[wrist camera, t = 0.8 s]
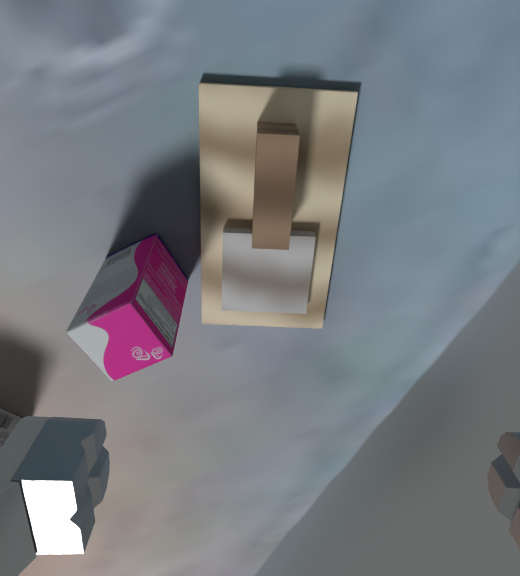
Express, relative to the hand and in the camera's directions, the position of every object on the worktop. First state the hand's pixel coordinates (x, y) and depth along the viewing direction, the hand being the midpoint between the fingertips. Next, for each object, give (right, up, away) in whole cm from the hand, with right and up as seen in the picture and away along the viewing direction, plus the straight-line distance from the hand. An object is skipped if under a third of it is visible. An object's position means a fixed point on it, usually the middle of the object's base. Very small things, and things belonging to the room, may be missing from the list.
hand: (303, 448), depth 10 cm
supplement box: (-11, +5, +34) cm, 36 cm away
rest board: (0, +9, +31) cm, 33 cm away
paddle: (0, +9, +31) cm, 32 cm away
